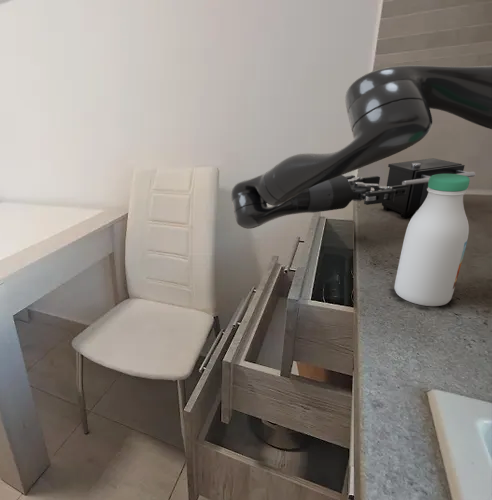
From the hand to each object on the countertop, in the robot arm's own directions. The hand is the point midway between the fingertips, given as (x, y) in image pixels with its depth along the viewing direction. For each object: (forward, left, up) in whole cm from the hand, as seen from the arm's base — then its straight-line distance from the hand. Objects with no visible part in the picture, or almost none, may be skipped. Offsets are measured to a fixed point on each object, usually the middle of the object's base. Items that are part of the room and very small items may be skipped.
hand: (391, 184), depth 82 cm
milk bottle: (+3, +29, -11) cm, 32 cm away
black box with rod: (-11, -13, -11) cm, 20 cm away
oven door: (-10, -6, -9) cm, 15 cm away
